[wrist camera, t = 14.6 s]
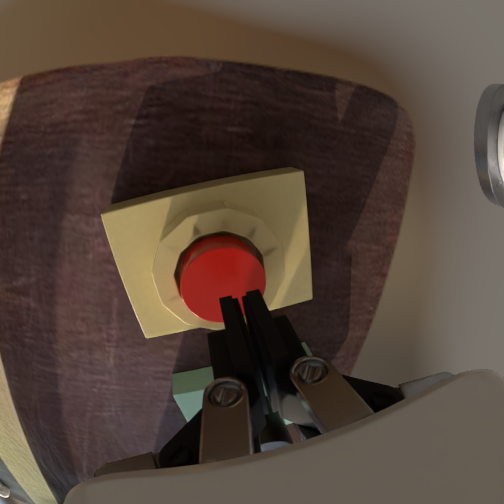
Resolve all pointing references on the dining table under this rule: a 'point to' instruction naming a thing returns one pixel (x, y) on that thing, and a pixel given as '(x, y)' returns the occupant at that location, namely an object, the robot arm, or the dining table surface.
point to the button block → (206, 225)
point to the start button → (218, 275)
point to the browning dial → (274, 431)
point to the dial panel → (198, 388)
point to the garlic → (4, 490)
